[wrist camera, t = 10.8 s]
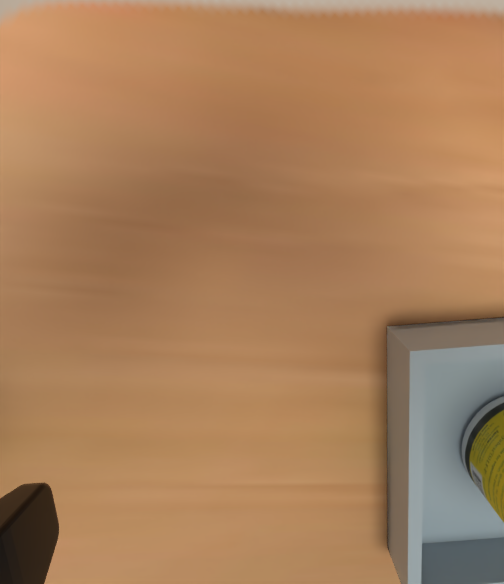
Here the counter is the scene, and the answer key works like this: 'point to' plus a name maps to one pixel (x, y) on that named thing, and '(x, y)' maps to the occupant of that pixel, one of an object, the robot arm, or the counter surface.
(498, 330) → the tray
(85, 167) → the counter surface
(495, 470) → the supplement bottle
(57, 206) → the counter surface
